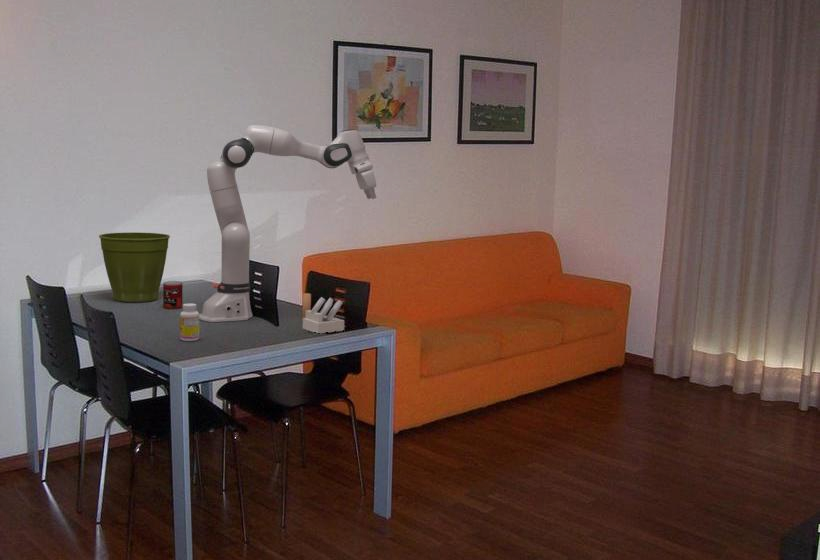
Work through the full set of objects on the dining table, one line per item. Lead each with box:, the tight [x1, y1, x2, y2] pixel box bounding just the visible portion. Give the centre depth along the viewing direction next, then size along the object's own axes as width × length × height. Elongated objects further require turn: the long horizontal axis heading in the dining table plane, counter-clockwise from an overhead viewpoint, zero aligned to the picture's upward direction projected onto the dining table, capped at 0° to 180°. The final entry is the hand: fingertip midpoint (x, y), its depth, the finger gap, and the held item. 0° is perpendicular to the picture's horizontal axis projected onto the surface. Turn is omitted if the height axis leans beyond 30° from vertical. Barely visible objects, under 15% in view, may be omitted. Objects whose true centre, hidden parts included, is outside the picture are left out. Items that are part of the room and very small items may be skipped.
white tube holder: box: [302, 296, 345, 334], centre depth 332 cm, size 14×11×13 cm
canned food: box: [162, 280, 183, 310], centre depth 363 cm, size 8×8×11 cm
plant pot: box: [98, 231, 171, 303], centre depth 378 cm, size 30×30×29 cm
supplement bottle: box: [179, 302, 200, 342], centre depth 305 cm, size 7×7×13 cm
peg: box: [301, 292, 312, 325], centre depth 341 cm, size 3×3×12 cm
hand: (372, 198), depth 354 cm, fingers open, 8 cm apart
